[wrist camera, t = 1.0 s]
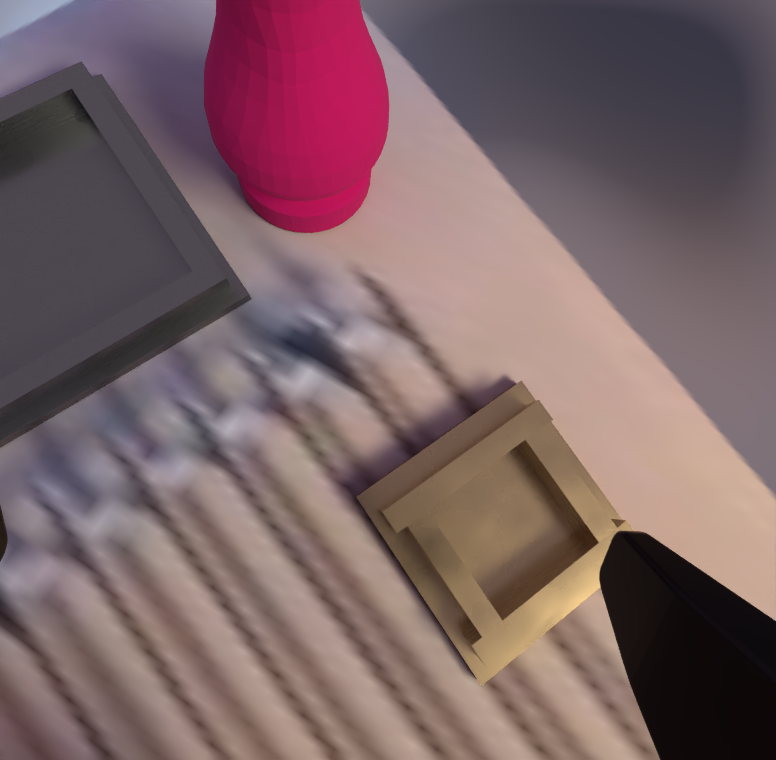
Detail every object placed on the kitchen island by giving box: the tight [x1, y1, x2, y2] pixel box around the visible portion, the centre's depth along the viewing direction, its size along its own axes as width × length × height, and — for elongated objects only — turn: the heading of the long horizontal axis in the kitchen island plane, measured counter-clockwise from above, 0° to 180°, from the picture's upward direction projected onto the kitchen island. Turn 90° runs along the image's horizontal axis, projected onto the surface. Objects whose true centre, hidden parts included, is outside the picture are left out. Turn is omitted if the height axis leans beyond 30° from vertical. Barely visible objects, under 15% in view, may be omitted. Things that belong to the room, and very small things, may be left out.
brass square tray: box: [356, 381, 634, 686], centre depth 22 cm, size 9×9×2 cm
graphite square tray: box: [0, 61, 251, 447], centre depth 22 cm, size 13×13×2 cm
